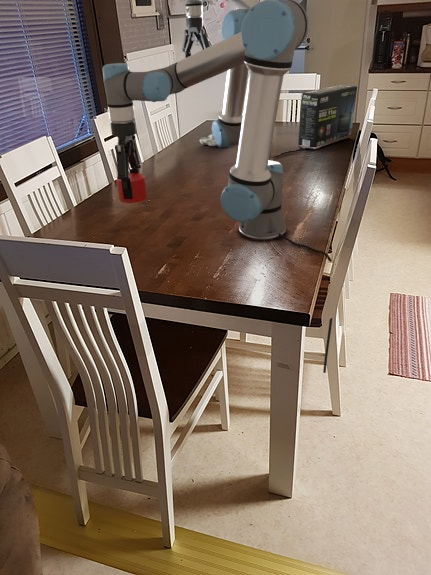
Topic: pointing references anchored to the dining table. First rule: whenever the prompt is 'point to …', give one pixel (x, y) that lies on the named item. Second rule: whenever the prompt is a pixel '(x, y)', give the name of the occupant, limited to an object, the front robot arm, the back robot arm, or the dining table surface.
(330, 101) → the router box
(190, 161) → the dining table surface
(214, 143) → the fossil
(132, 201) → the tin
